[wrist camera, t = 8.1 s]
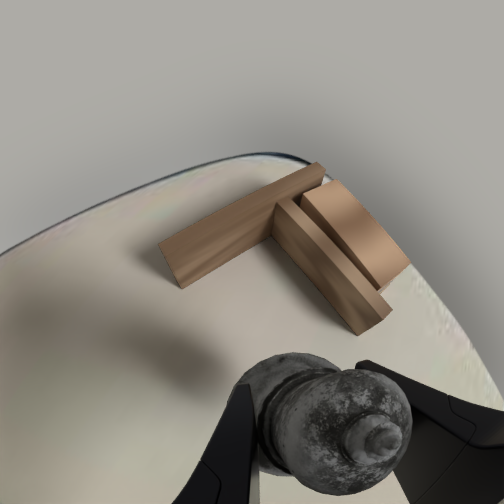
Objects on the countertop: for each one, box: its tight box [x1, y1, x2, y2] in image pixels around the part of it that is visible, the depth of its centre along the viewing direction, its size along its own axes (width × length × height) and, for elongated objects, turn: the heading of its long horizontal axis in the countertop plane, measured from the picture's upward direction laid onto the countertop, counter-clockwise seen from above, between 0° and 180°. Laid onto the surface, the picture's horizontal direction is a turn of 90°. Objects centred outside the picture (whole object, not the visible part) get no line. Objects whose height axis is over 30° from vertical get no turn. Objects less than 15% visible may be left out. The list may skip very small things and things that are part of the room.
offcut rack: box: [158, 162, 393, 336], centre depth 21 cm, size 14×16×6 cm
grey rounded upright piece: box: [227, 352, 412, 496], centre depth 8 cm, size 6×6×12 cm
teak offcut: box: [300, 179, 411, 292], centre depth 22 cm, size 10×4×2 cm, turn 31°
